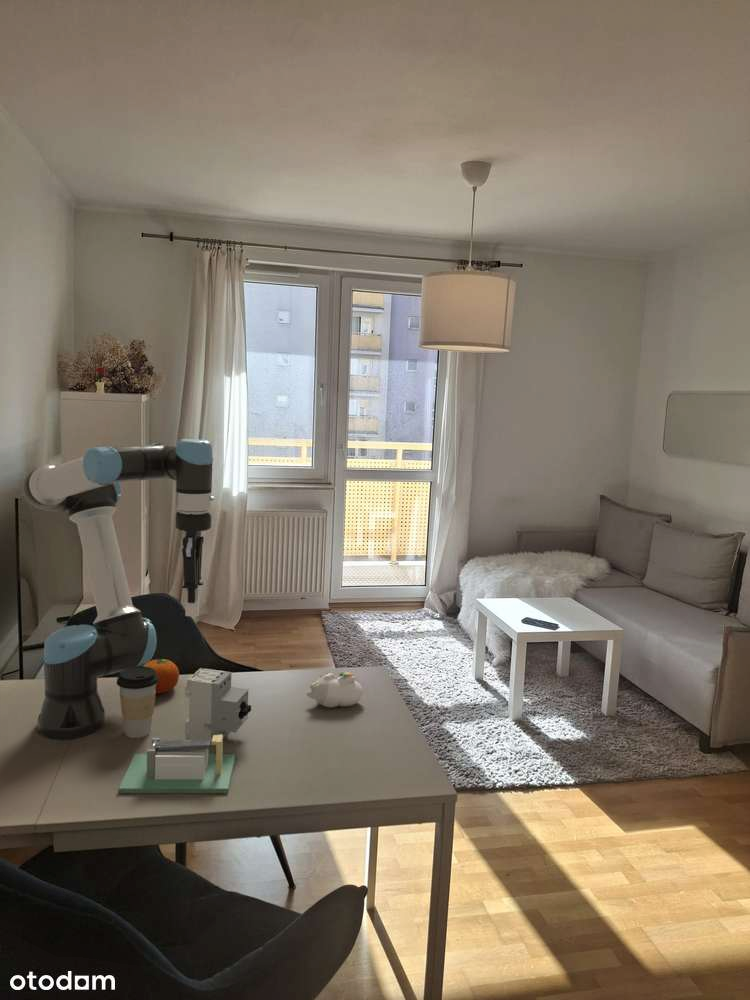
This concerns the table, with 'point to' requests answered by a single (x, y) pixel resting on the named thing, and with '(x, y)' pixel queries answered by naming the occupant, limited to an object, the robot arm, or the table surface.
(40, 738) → the table surface
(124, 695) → the coffee cup
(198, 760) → the board
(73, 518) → the robot arm
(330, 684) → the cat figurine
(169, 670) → the fruit
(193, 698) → the circuit breaker
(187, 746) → the grey lever
